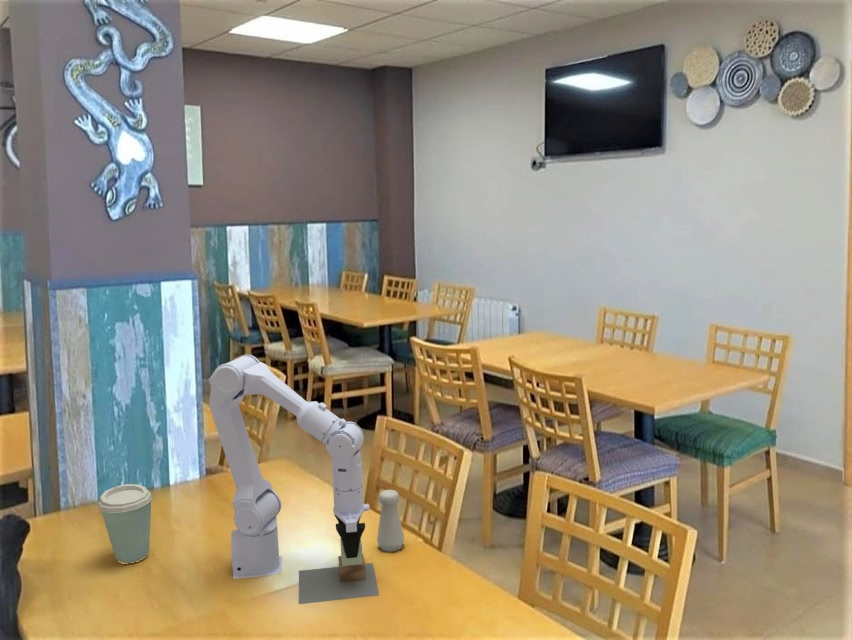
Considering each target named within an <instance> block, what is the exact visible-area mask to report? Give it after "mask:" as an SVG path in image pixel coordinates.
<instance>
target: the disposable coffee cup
mask: <svg viewBox="0 0 852 640" xmlns="http://www.w3.org/2000/svg"><path fill="white" fill-rule="evenodd" d="M99 498H100V499H99V501H98V506H97V507H98V509H99V510H100V512H101V515H102V519H103V521H104V522H103V523H104V524H105V529H106V530H107V531H106V532H107V535H108V538H109V542H110V545H111V547H112V551H113V554H114V557H115V560H116V561H117V562H118V561H120V562H123V563H130V562H131V563H132V562H136V561H140V560H141V559H143V558H145V557H146V556H147V554H148V555H149V553H150V543H151V542H150V541H151V539H150V538H151V536H150V535H151V516H152V514H151V511H152V499H153V496H152V493H151V492H150V491H149V489H147V487H146V486H144V485H140V484H131V483H130V484H129V483H127V484H126V483H125V484H121V485H117V486H113V487H111V488H109V489H106V490H104V492H103V493H102V494H101V495H100V497H99ZM147 557H148V556H147ZM147 557H146V558H147ZM140 562H141V561H140Z"/></svg>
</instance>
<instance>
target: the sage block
mask: <svg viewBox="0 0 852 640" xmlns="http://www.w3.org/2000/svg"><path fill="white" fill-rule="evenodd" d="M339 538H340V540H339V541H340V556H341V559H342V566H352V565H361V564H363V559H362V554H363V543H362V538H361V539H360V544H359V551H358V556H357V557H356V558H347V557H346V555H345V551H344V546H343V542H342V540H341V537H339Z"/></svg>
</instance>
